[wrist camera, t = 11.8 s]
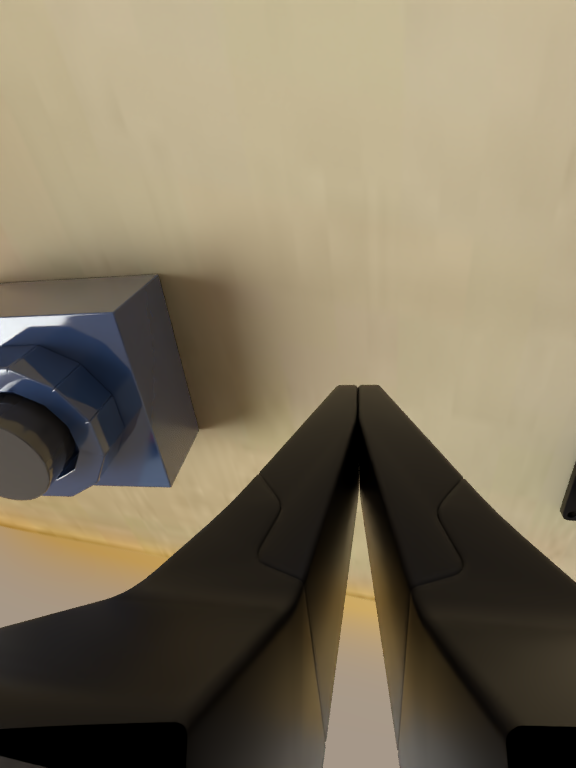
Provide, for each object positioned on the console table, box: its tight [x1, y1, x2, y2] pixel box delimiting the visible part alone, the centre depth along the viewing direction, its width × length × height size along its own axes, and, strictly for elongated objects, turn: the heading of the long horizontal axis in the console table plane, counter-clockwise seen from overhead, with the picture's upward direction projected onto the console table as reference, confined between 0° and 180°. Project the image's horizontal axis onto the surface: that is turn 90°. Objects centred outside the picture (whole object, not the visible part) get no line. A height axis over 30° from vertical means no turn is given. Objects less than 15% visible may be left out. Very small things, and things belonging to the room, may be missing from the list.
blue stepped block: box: [0, 274, 199, 497], centre depth 23 cm, size 10×10×7 cm
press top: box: [0, 394, 75, 500], centre depth 19 cm, size 4×4×2 cm
